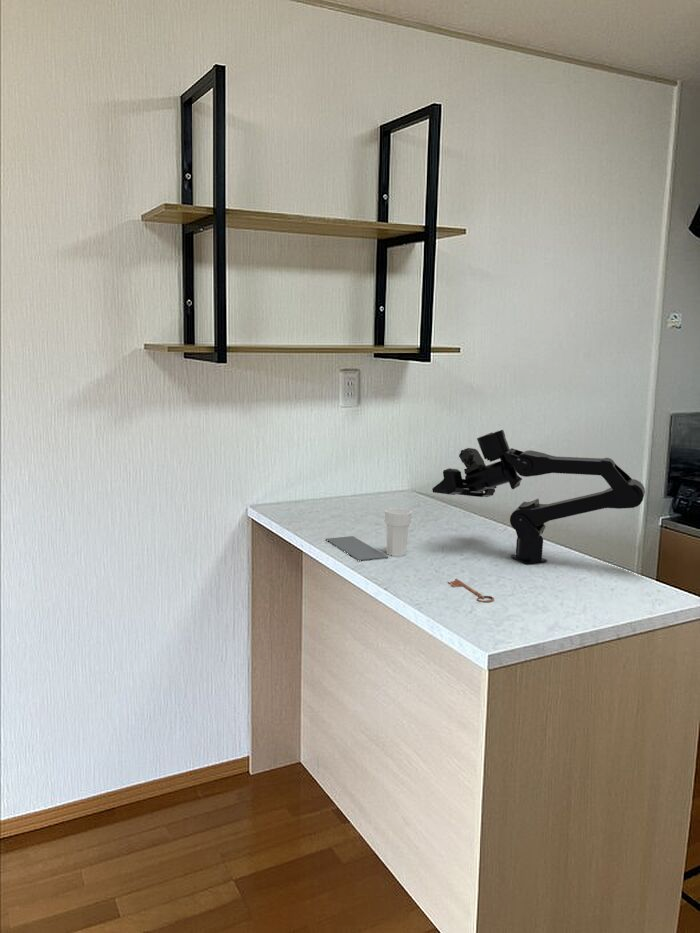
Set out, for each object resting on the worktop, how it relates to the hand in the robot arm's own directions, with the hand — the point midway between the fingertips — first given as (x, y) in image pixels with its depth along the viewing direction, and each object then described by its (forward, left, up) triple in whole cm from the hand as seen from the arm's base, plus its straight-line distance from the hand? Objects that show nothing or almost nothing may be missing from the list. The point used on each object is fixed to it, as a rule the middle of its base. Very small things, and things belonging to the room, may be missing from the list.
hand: (443, 491), depth 218 cm
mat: (+2, +24, -14) cm, 28 cm away
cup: (-5, +16, -14) cm, 22 cm away
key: (-36, +15, -14) cm, 42 cm away
